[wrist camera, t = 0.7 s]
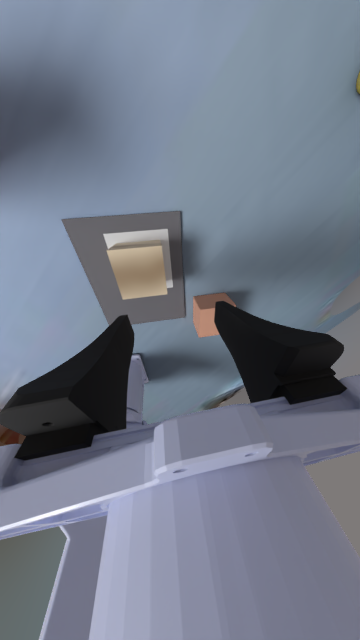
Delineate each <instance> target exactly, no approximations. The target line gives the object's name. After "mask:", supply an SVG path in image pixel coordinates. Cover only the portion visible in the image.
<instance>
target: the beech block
mask: <svg viewBox="0 0 360 640" xmlns="http://www.w3.org/2000/svg"><path fill="white" fill-rule="evenodd" d="M107 254H108V257H109V260H110V263H111V266H112V269H113V272H114V275H115V278H116V281H117V284H118V287H119V290H120V293H121V296H122V299H123V300H124V299H132V298H141V297H149V296H157V295H166V294H167V286H166V277H165V269H164V261H163V253H162V245H161V241H160V240H151V241H140V242H128V243H117V244H114V245H113V246H112V247H111V248H109V249H108V250H107Z"/></svg>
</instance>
